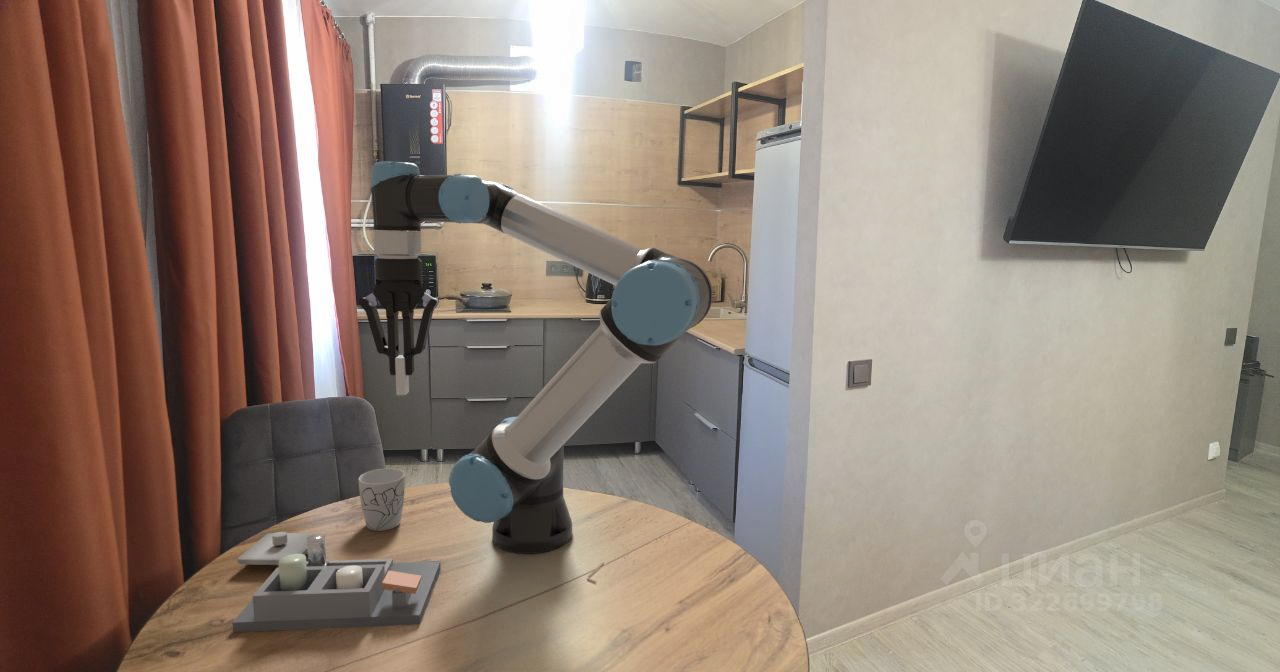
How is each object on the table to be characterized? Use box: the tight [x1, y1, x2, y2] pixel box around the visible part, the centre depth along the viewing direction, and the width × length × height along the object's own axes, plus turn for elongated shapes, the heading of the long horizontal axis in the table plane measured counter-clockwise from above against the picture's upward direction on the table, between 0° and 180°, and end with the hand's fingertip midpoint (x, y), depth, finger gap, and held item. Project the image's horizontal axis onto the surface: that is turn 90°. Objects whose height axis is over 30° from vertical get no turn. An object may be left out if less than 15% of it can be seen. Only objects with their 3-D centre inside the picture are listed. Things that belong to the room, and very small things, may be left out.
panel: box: [231, 558, 442, 633], centre depth 103 cm, size 26×16×6 cm, turn 96°
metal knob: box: [307, 533, 330, 567], centre depth 107 cm, size 3×3×6 cm
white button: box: [336, 565, 363, 589], centre depth 99 cm, size 4×4×4 cm
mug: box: [358, 468, 406, 532], centre depth 130 cm, size 11×8×10 cm
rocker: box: [381, 571, 421, 594], centre depth 100 cm, size 5×4×1 cm
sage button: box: [278, 554, 307, 591], centre depth 98 cm, size 4×4×4 cm
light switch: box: [237, 531, 315, 566], centre depth 114 cm, size 10×10×5 cm
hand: (402, 393), depth 114 cm, fingers closed
